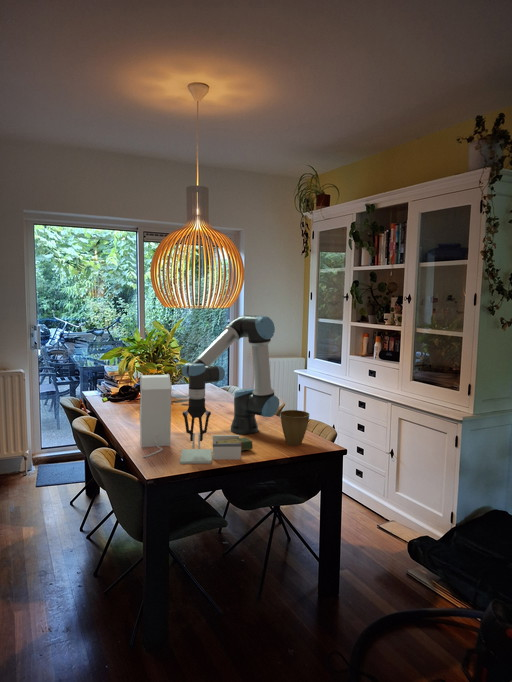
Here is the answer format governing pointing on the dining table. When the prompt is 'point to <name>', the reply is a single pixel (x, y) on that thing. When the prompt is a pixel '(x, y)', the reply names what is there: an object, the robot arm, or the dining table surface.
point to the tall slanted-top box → (155, 411)
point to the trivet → (196, 456)
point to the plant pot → (294, 426)
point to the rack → (226, 447)
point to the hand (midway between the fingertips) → (196, 447)
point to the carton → (245, 442)
